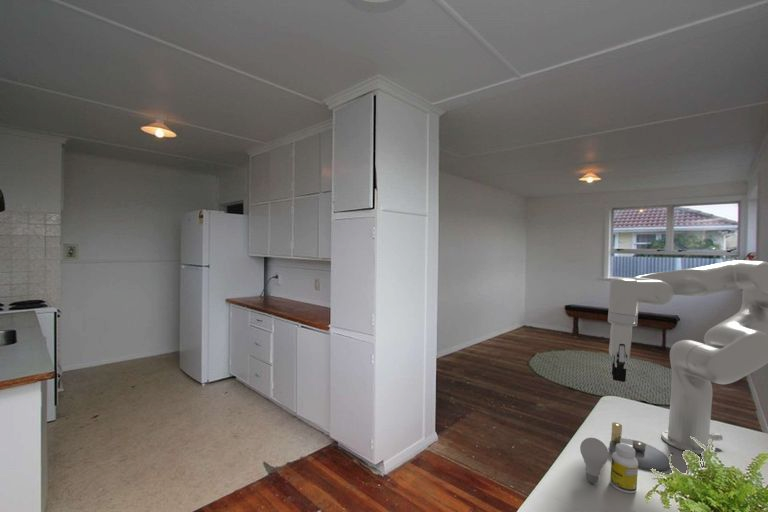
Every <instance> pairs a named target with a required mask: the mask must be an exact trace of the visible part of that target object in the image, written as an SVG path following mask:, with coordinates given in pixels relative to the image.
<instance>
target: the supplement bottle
mask: <svg viewBox="0 0 768 512" xmlns="http://www.w3.org/2000/svg"><path fill="white" fill-rule="evenodd" d="M610 462H611V464H610V477H609V479H610V484H611V486H613V487H614V488H615V489H617V490H618V491H620V492H622V493H626V494H635V493H636V492H637V486H638V485H637V484H638V475H639V474H638V472H639V467H638V461H637V459H636V458H635V449H634V448H633V447H631V446H629V445H627V444H623V443H618V444H616V452H614V453H612V454H611V461H610Z"/></svg>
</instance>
